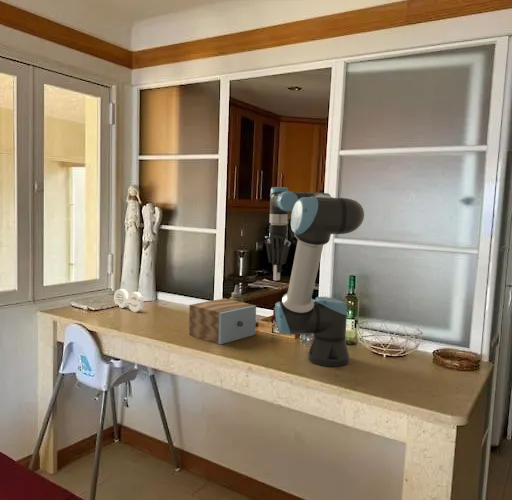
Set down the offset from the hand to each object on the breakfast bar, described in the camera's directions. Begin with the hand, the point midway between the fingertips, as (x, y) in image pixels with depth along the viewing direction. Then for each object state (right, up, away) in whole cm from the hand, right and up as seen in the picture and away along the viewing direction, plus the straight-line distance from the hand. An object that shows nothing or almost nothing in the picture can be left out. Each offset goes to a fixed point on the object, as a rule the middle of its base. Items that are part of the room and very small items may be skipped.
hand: (276, 279), depth 203 cm
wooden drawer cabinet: (-24, -24, +6) cm, 35 cm away
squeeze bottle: (-18, -22, +28) cm, 40 cm away
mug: (+2, -24, +15) cm, 29 cm away
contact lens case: (-76, -19, +48) cm, 91 cm away
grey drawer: (-22, -24, +5) cm, 33 cm away
